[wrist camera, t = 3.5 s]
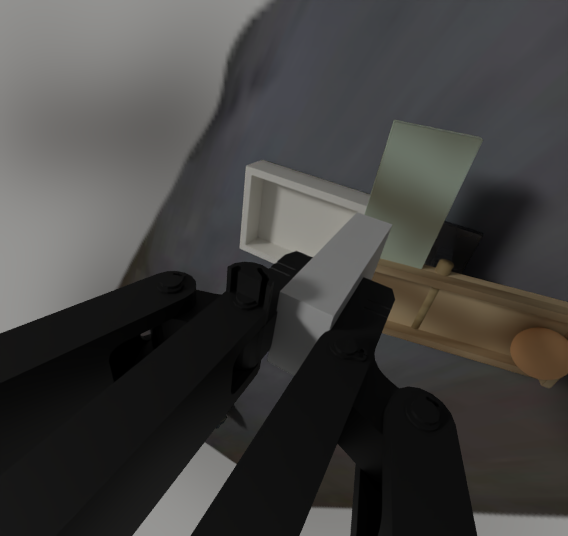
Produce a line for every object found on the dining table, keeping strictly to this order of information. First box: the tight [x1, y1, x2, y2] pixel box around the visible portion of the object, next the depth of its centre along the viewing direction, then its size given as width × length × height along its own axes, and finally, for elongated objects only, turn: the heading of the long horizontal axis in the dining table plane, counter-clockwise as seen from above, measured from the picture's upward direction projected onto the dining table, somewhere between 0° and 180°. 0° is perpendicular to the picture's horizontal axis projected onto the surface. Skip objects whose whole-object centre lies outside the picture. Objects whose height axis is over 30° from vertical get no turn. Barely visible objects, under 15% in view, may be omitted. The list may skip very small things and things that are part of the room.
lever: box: [364, 120, 568, 388], centre depth 22 cm, size 16×16×2 cm
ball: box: [510, 327, 568, 380], centre depth 22 cm, size 4×4×4 cm
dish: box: [240, 160, 370, 264], centre depth 33 cm, size 9×12×3 cm
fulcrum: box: [424, 221, 483, 274], centre depth 28 cm, size 9×4×5 cm, turn 170°
